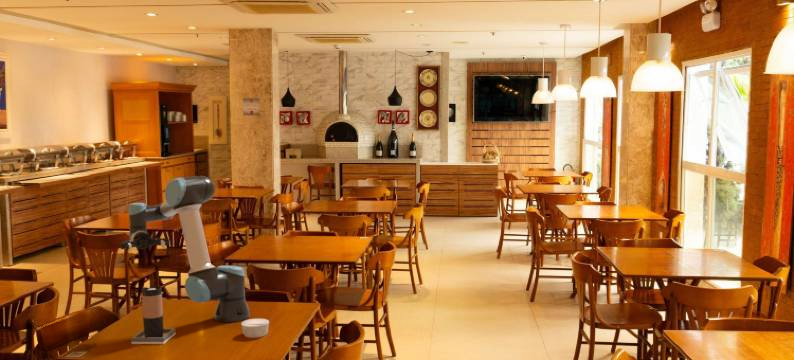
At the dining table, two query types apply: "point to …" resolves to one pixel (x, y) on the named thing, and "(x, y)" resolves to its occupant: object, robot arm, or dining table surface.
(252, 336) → the ramekin
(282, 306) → the dining table surface
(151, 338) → the mug dock
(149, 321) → the travel mug
